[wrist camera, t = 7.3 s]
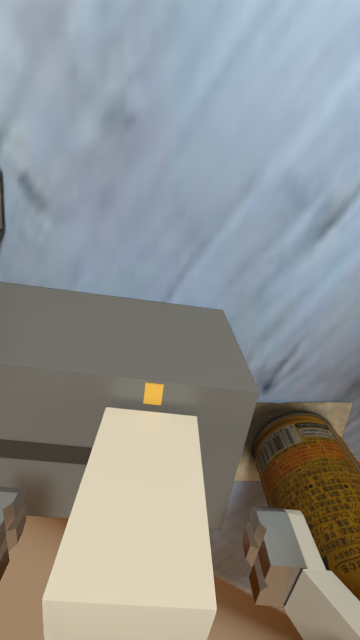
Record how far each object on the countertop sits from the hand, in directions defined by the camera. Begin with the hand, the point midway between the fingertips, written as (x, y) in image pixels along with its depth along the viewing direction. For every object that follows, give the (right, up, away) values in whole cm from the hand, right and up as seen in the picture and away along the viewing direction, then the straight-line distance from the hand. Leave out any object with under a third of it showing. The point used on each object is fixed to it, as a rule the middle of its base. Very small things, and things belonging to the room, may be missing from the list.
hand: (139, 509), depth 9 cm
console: (-6, +4, +9) cm, 11 cm away
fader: (0, +1, +1) cm, 2 cm away
